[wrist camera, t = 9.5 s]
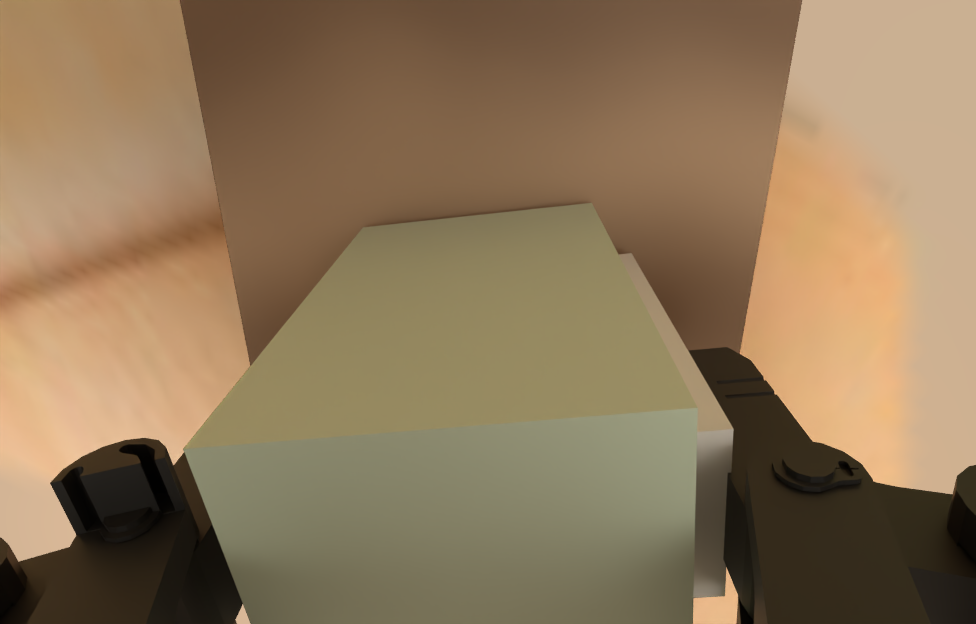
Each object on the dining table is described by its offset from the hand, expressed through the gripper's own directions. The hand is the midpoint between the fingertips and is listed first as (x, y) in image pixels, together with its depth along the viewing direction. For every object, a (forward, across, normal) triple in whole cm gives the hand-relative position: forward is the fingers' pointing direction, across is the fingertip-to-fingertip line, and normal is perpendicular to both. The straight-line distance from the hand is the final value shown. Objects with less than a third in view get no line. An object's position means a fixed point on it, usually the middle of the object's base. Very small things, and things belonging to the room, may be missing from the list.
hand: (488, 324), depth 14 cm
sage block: (0, 0, 0) cm, 0 cm away
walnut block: (+6, 0, 0) cm, 6 cm away
